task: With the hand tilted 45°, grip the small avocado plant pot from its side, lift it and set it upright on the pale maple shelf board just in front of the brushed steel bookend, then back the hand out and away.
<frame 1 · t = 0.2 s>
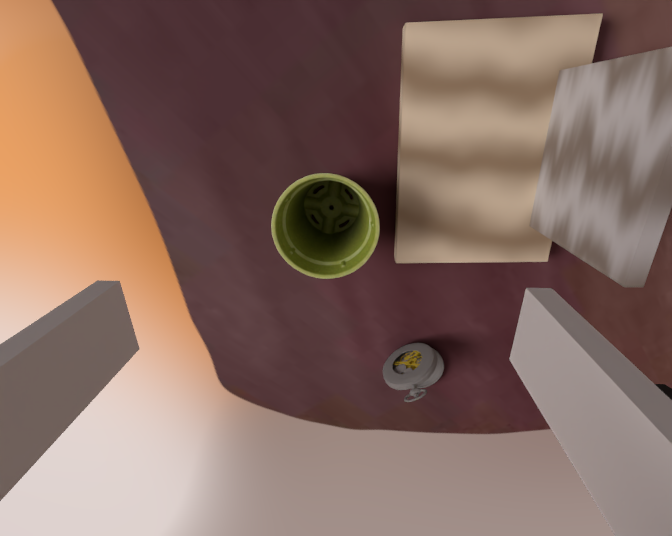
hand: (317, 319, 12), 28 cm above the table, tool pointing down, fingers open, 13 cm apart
shelf board: (478, 153, 36), on the table
pocket watch: (413, 355, 46), on the table
plant pot: (331, 205, 39), on the table
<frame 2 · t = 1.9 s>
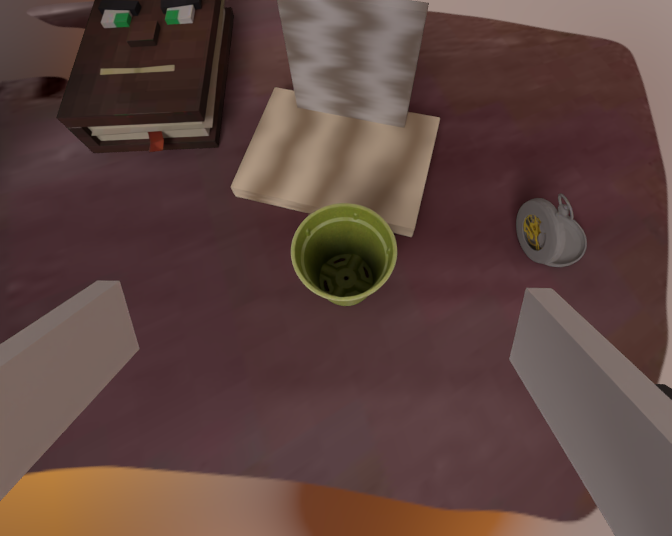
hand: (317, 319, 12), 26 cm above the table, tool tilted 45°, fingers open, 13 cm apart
shelf board: (338, 161, 45), on the table
decorative book: (171, 82, 52), on the table
pocket watch: (539, 243, 40), on the table
plant pot: (345, 280, 40), on the table
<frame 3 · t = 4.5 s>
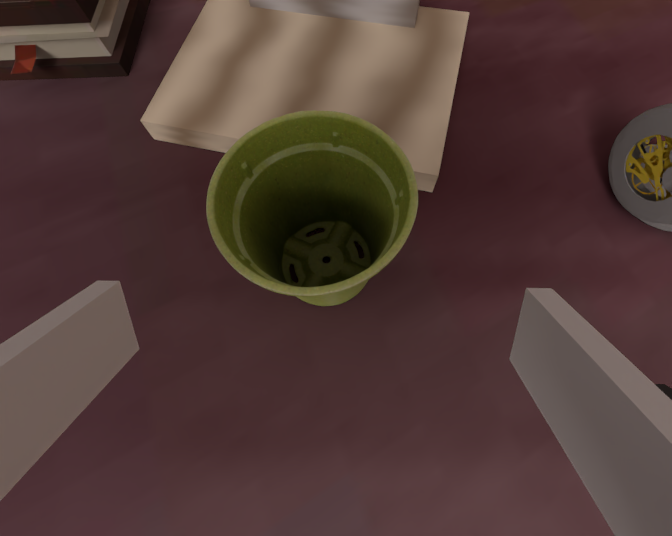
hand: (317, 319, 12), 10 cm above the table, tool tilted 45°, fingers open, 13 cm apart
shelf board: (314, 85, 29), on the table
pocket watch: (641, 196, 25), on the table
plant pot: (325, 264, 24), on the table
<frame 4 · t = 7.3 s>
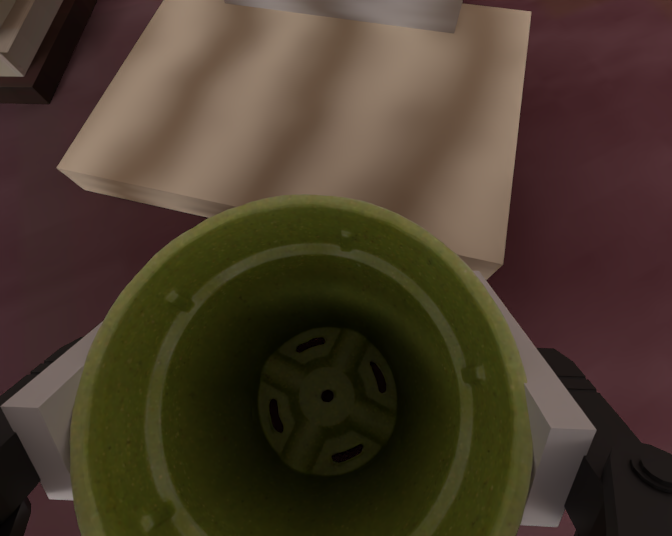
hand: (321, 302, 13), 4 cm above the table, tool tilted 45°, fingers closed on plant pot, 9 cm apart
shelf board: (312, 113, 21), on the table
plant pot: (326, 397, 16), on the table, touching gripper
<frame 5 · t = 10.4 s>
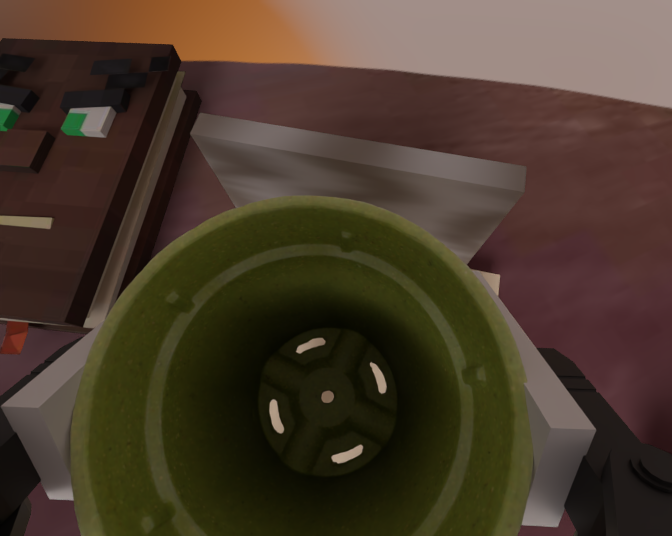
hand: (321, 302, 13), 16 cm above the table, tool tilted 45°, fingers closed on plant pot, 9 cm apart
shelf board: (335, 347, 28), on the table
decorative book: (89, 200, 35), on the table
plant pot: (326, 397, 16), point 12 cm above the table, touching gripper
when the fingers open (8 cm above the table, at t = 13.5 s): plant pot drops 2 cm, resting on shelf board.
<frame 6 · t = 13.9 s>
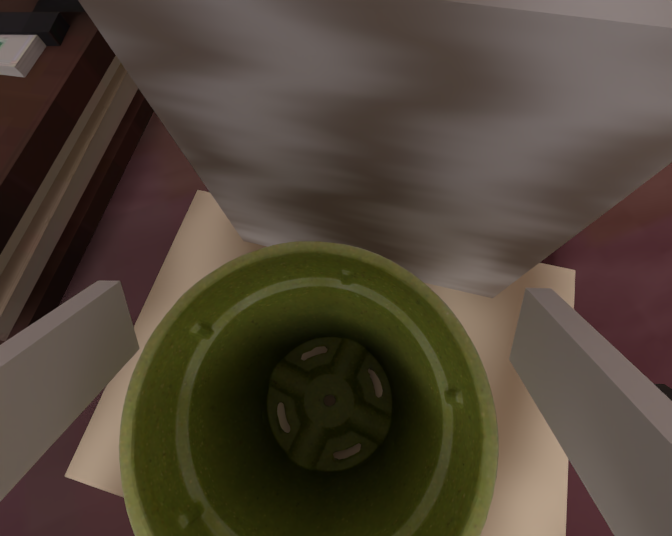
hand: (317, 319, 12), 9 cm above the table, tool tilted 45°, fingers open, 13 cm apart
shelf board: (338, 370, 20), on the table
decorative book: (22, 169, 26), on the table
plant pot: (328, 400, 17), point 2 cm above the table, touching shelf board
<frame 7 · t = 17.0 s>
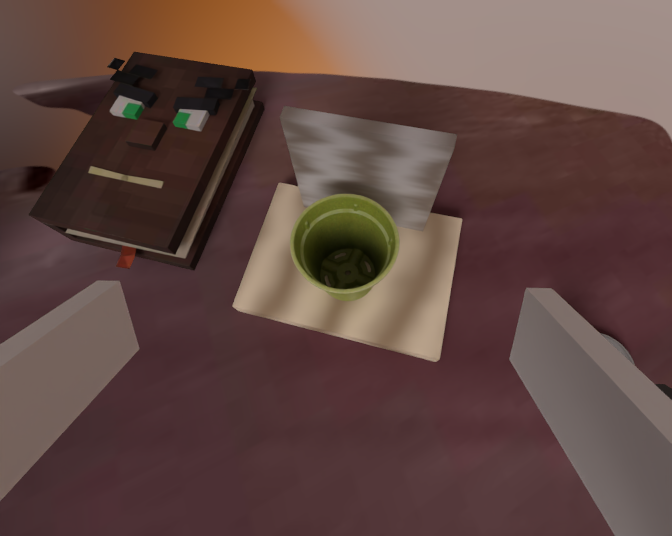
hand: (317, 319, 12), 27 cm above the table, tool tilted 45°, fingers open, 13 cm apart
shelf board: (350, 267, 41), on the table
decorative book: (176, 173, 48), on the table
plant pot: (347, 275, 39), point 2 cm above the table, touching shelf board
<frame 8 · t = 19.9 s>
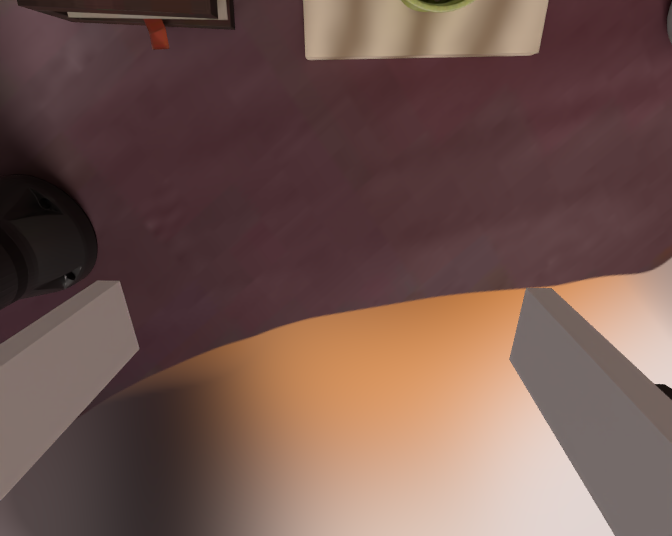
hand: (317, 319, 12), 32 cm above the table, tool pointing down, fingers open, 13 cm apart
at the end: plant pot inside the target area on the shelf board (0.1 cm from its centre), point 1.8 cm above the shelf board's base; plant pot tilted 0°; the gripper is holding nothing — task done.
